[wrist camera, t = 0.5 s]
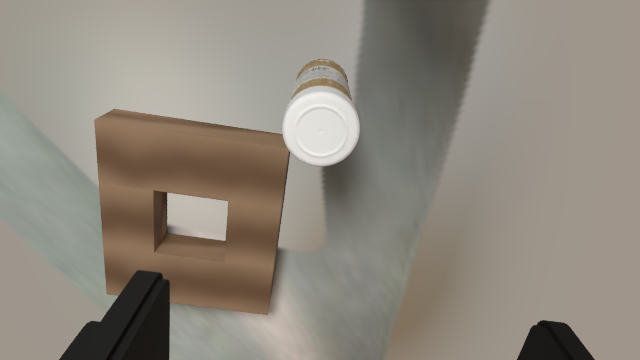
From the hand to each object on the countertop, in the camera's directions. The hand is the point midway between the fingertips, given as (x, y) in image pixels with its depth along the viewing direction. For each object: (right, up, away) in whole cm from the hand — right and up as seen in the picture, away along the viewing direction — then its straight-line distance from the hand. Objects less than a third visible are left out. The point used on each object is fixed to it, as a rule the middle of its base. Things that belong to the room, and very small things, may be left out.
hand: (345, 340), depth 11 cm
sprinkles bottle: (0, +12, +26) cm, 28 cm away
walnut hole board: (-13, +1, +31) cm, 33 cm away
